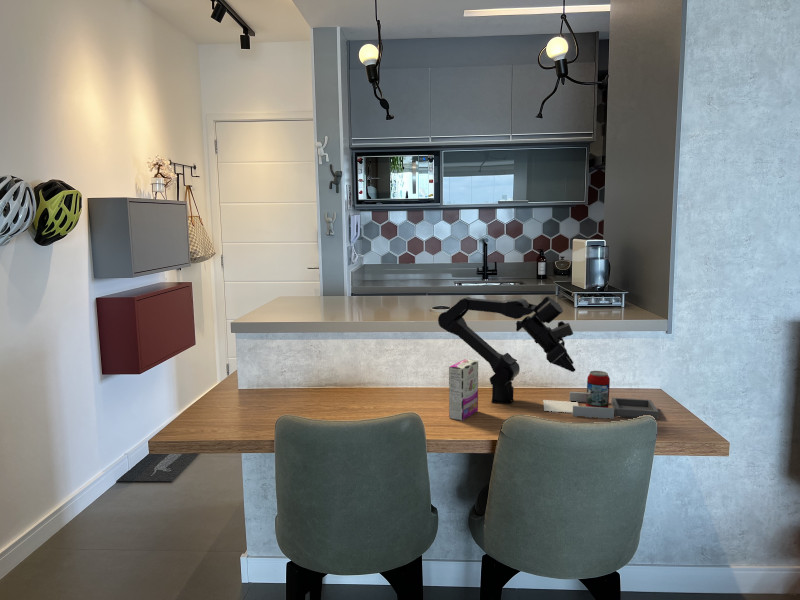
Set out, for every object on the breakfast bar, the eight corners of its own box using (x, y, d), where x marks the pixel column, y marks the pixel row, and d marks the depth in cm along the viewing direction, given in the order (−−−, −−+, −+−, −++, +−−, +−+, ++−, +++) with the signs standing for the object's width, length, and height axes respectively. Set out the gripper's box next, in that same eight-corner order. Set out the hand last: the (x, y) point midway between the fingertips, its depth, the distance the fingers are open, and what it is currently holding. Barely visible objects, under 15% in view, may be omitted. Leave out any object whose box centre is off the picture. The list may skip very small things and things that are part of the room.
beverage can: (585, 411, 191) (586, 374, 190) (587, 405, 197) (588, 369, 196) (607, 414, 189) (609, 376, 187) (608, 407, 195) (610, 371, 193)
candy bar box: (463, 408, 194) (464, 358, 192) (478, 411, 191) (479, 360, 189) (447, 418, 184) (448, 365, 182) (462, 421, 182) (463, 368, 180)
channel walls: (572, 416, 187) (573, 406, 186) (569, 400, 203) (569, 391, 202) (613, 418, 184) (614, 409, 184) (607, 402, 200) (607, 393, 200)
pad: (544, 411, 191) (544, 410, 191) (543, 401, 202) (543, 399, 202) (580, 413, 189) (580, 412, 189) (577, 403, 199) (577, 402, 199)
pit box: (616, 416, 186) (616, 408, 186) (611, 404, 198) (611, 397, 197) (658, 419, 184) (658, 411, 183) (650, 407, 195) (650, 399, 195)
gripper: (559, 319, 182) (596, 357, 182) (556, 310, 201) (590, 344, 200) (531, 344, 185) (567, 381, 184) (531, 332, 203) (564, 366, 203)
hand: (573, 367), depth 193 cm, fingers open, 9 cm apart
